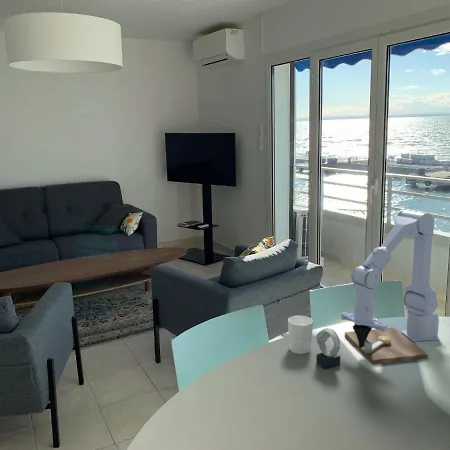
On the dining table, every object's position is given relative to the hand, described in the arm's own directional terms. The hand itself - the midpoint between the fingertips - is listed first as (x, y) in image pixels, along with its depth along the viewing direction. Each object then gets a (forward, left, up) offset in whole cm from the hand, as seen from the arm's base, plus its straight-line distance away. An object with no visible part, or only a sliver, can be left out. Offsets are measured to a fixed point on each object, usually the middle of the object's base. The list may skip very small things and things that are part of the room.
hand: (362, 346), depth 147 cm
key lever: (-6, -1, -1) cm, 6 cm away
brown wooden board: (-10, -4, -3) cm, 11 cm away
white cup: (+17, -8, -3) cm, 19 cm away
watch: (+12, +3, -3) cm, 13 cm away
